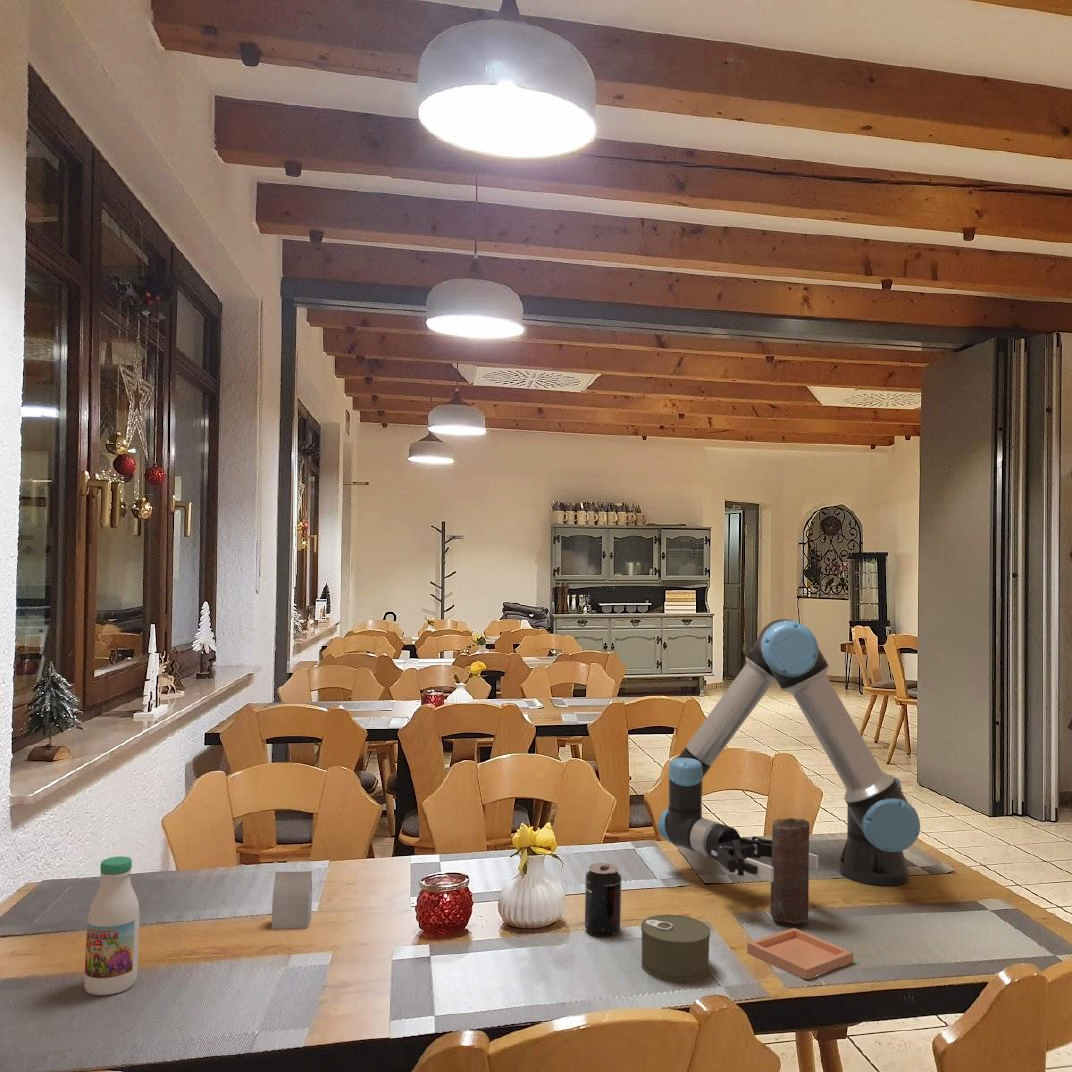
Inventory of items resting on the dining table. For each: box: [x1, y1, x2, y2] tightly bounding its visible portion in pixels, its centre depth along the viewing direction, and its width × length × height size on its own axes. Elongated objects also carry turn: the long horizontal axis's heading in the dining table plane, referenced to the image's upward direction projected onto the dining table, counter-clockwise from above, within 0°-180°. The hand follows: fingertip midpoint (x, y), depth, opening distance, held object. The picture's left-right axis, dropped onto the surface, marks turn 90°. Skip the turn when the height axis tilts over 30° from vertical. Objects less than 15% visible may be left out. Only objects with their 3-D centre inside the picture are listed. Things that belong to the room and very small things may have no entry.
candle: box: [769, 817, 810, 925], centre depth 175 cm, size 8×7×20 cm
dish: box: [746, 927, 854, 980], centre depth 158 cm, size 13×13×2 cm
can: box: [640, 914, 711, 983], centre depth 153 cm, size 12×12×7 cm
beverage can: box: [584, 862, 622, 937], centre depth 168 cm, size 7×7×12 cm
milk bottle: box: [83, 855, 140, 996], centre depth 142 cm, size 8×8×20 cm
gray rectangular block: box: [271, 870, 313, 930], centre depth 168 cm, size 4×7×10 cm, turn 95°
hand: (795, 868), depth 173 cm, fingers open, 13 cm apart
